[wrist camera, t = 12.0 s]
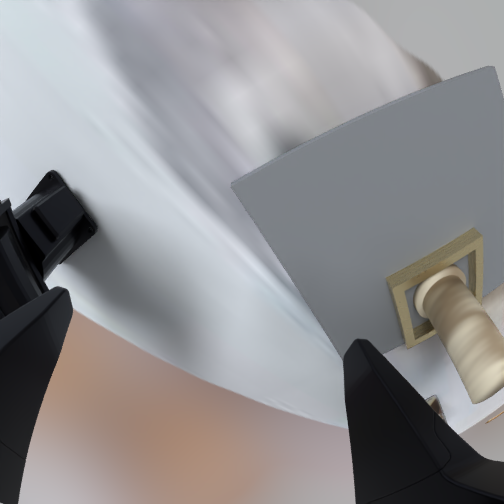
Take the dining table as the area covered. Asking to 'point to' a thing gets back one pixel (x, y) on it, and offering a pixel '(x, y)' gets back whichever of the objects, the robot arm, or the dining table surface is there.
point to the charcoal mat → (385, 203)
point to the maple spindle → (463, 331)
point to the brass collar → (428, 267)
